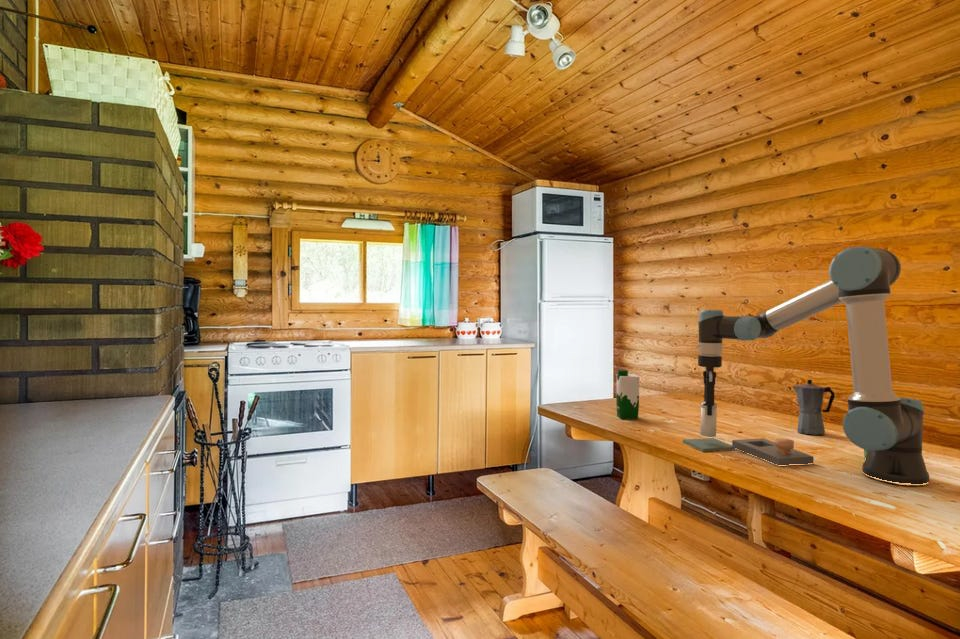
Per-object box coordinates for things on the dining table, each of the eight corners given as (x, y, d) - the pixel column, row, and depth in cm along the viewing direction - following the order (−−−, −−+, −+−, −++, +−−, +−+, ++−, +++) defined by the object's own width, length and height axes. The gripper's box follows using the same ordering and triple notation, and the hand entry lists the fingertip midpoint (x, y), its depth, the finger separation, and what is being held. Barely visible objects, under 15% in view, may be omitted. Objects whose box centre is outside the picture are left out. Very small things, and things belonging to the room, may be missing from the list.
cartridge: (715, 433, 191) (716, 402, 191) (716, 437, 187) (717, 404, 186) (700, 432, 193) (700, 401, 192) (700, 436, 188) (701, 403, 188)
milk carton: (614, 415, 239) (614, 369, 238) (635, 415, 239) (636, 369, 238) (619, 419, 230) (619, 371, 229) (641, 419, 230) (641, 371, 229)
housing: (813, 464, 169) (813, 456, 169) (778, 466, 167) (778, 458, 167) (763, 445, 190) (763, 438, 190) (732, 447, 188) (732, 440, 188)
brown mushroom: (797, 461, 171) (797, 442, 170) (782, 462, 170) (783, 442, 169) (785, 456, 176) (785, 438, 175) (771, 457, 175) (771, 438, 174)
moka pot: (797, 427, 217) (799, 376, 216) (840, 435, 204) (842, 381, 203) (784, 430, 212) (785, 378, 211) (828, 439, 199) (829, 383, 198)
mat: (735, 449, 185) (735, 446, 185) (702, 451, 183) (702, 448, 183) (713, 440, 197) (713, 437, 197) (682, 442, 195) (682, 439, 195)
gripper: (696, 352, 198) (695, 416, 199) (699, 357, 181) (697, 427, 182) (719, 352, 196) (718, 418, 197) (724, 358, 179) (722, 429, 180)
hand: (708, 422), depth 190 cm, fingers closed on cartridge, 5 cm apart
